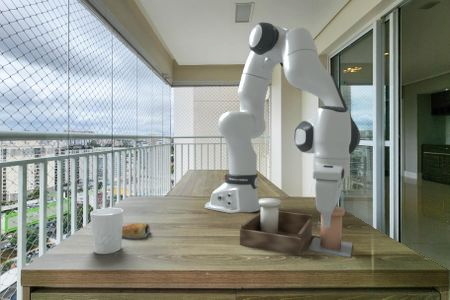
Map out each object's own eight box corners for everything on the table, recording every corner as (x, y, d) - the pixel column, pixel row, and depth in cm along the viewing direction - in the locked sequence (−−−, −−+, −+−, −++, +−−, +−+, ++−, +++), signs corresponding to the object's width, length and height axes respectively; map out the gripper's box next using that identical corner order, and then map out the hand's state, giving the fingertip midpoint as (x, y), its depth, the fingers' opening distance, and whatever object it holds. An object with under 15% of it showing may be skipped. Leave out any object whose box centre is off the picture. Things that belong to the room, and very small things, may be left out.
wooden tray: (239, 246, 79) (240, 222, 79) (259, 229, 93) (259, 208, 93) (300, 257, 72) (300, 230, 72) (311, 237, 86) (312, 215, 86)
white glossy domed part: (255, 235, 86) (255, 201, 85) (262, 229, 92) (262, 197, 91) (276, 239, 83) (277, 203, 83) (282, 232, 89) (283, 199, 88)
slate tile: (307, 252, 75) (307, 249, 75) (314, 240, 84) (314, 237, 84) (350, 259, 71) (350, 256, 71) (352, 245, 80) (352, 243, 80)
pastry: (112, 239, 85) (112, 225, 85) (122, 231, 92) (122, 219, 92) (144, 240, 84) (144, 226, 84) (152, 232, 91) (152, 220, 91)
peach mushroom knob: (316, 248, 76) (317, 209, 76) (319, 240, 82) (320, 204, 81) (342, 252, 73) (343, 212, 73) (344, 243, 79) (345, 207, 79)
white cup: (97, 244, 80) (96, 207, 80) (127, 243, 81) (126, 207, 81) (86, 255, 73) (85, 215, 72) (119, 254, 73) (118, 215, 73)
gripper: (324, 164, 87) (322, 210, 88) (311, 172, 69) (309, 230, 70) (347, 165, 84) (345, 213, 85) (340, 174, 66) (338, 235, 67)
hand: (329, 221), depth 77 cm, fingers open, 8 cm apart
